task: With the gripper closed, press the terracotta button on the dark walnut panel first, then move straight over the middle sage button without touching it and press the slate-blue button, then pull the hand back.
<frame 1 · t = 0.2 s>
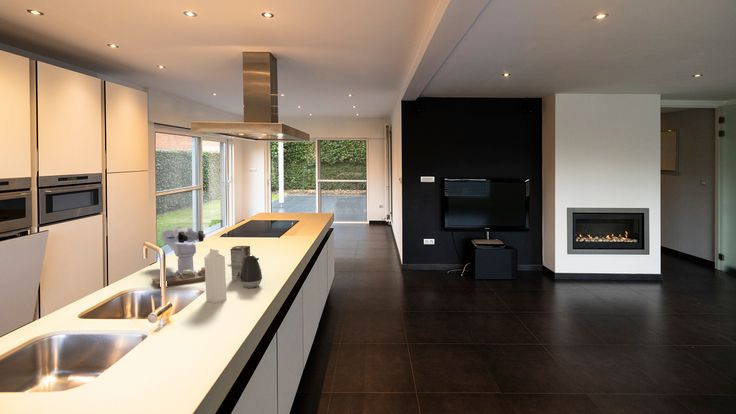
hand: (194, 238, 221), 21 cm above the countertop, tool horizontal, fingers open, 7 cm apart
terracotta button: (205, 269, 226), point 4 cm above the countertop, slide at 0.0 cm
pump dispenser: (251, 287, 209), on the countertop
coffee box: (241, 278, 225), on the countertop
milk: (216, 300, 188), on the countertop
button panel: (187, 280, 221), on the countertop
plant pot: (240, 261, 264), on the countertop
slate blue button: (168, 275, 216), point 4 cm above the countertop, slide at 0.0 cm
sage button: (187, 272, 221), point 4 cm above the countertop, slide at 0.0 cm
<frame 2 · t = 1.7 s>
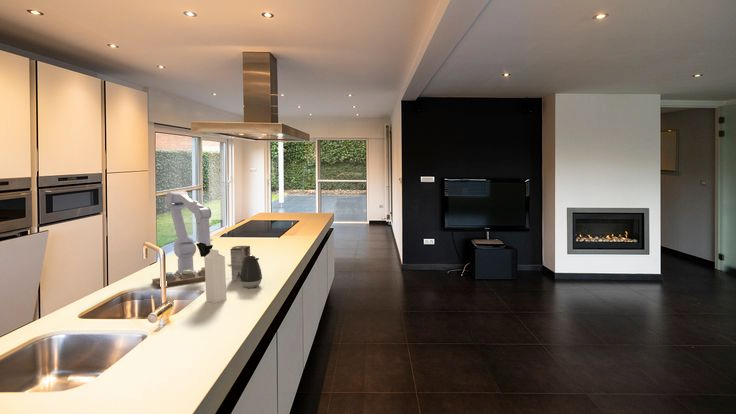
hand: (205, 257, 226), 10 cm above the countertop, tool pointing down, fingers open, 6 cm apart
nothing on the countertop moved.
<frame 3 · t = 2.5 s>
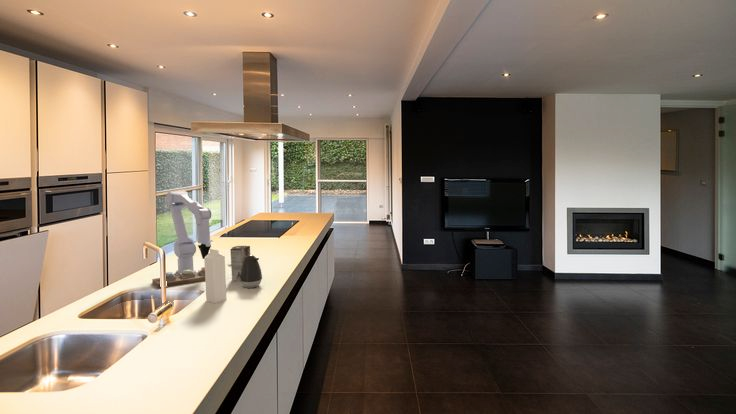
hand: (205, 258, 226), 10 cm above the countertop, tool pointing down, fingers closed
nothing on the countertop moved.
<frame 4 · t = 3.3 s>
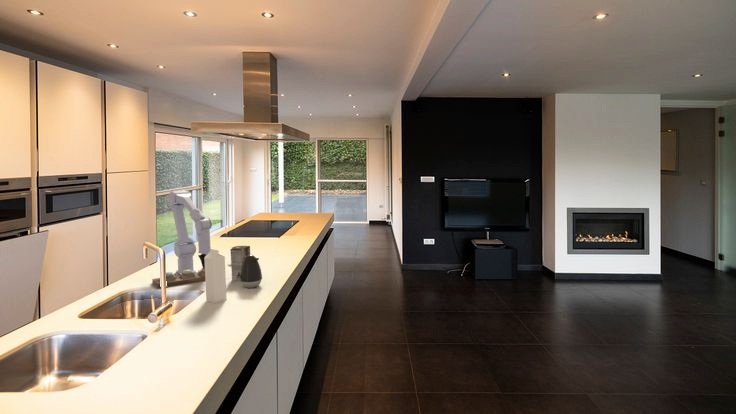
hand: (205, 268, 226), 5 cm above the countertop, tool pointing down, fingers closed, pressing on terracotta button
terracotta button: (205, 270, 226), point 4 cm above the countertop, slide at 0.3 cm, touching gripper
everything else where it was.
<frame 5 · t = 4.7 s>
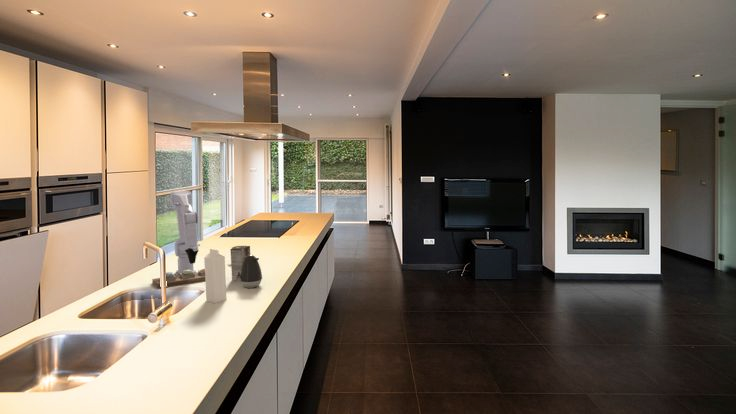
hand: (192, 263, 222), 8 cm above the countertop, tool pointing down, fingers closed
terracotta button: (205, 271, 226), point 3 cm above the countertop, slide at 0.8 cm
everything else where it was.
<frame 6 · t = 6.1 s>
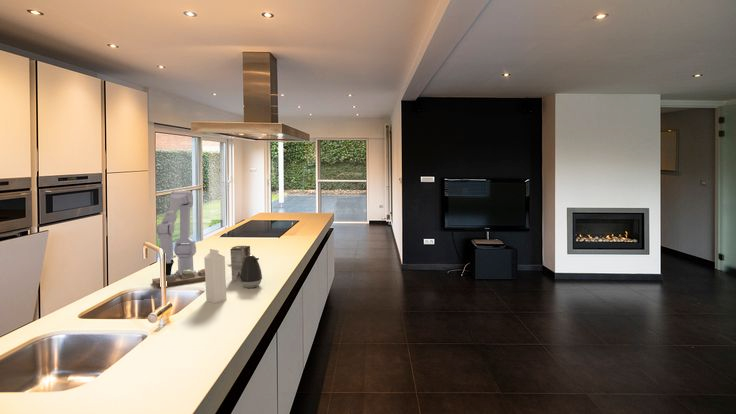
hand: (167, 275, 216), 4 cm above the countertop, tool pointing down, fingers closed, pressing on slate blue button
slate blue button: (168, 276, 216), point 3 cm above the countertop, slide at 0.8 cm, touching gripper
everything else where it was.
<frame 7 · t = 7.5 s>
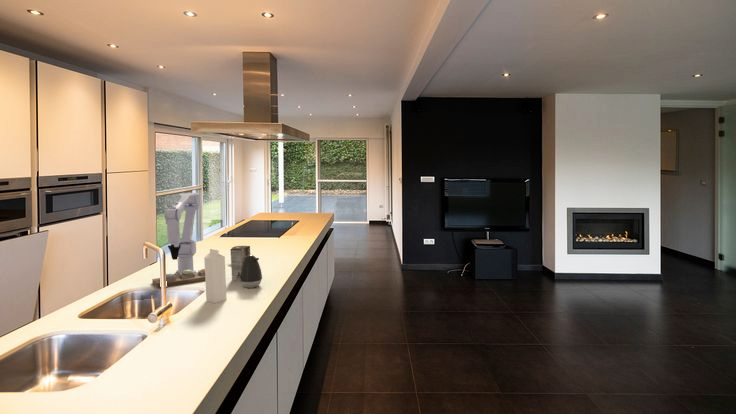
hand: (174, 259, 222), 10 cm above the countertop, tool pointing down, fingers closed
slate blue button: (168, 276, 216), point 3 cm above the countertop, slide at 0.8 cm
everything else where it was.
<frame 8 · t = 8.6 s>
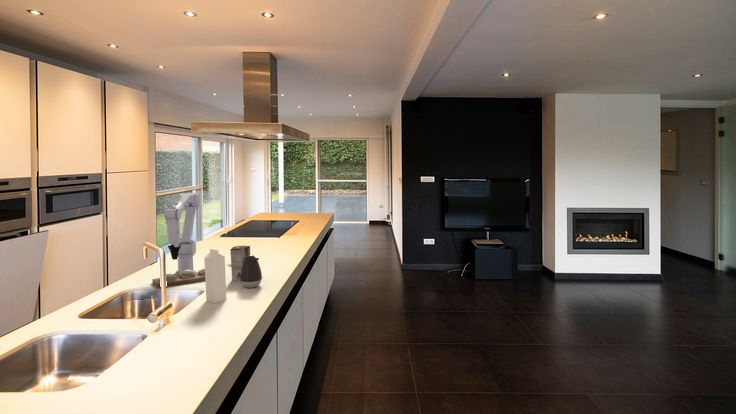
hand: (174, 259, 222), 10 cm above the countertop, tool pointing down, fingers closed
nothing on the countertop moved.
at the end: terracotta button slide at 0.8 cm; slate blue button slide at 0.8 cm; sage button slide at 0.0 cm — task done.
